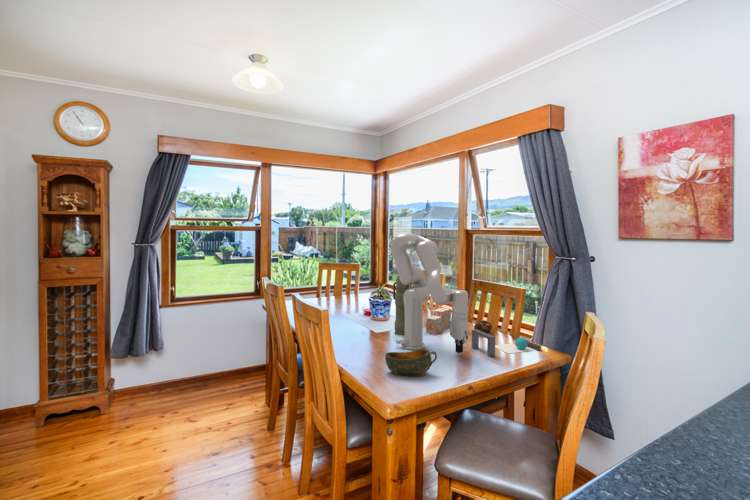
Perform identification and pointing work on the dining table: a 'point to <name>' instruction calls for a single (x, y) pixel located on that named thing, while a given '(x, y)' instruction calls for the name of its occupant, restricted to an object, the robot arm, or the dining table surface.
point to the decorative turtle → (483, 326)
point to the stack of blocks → (438, 321)
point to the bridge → (490, 342)
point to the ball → (521, 343)
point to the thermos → (399, 306)
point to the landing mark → (509, 348)
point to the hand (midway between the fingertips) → (459, 352)
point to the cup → (409, 362)
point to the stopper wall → (533, 345)
